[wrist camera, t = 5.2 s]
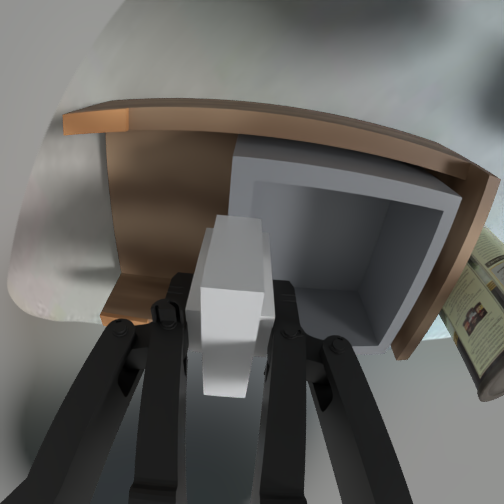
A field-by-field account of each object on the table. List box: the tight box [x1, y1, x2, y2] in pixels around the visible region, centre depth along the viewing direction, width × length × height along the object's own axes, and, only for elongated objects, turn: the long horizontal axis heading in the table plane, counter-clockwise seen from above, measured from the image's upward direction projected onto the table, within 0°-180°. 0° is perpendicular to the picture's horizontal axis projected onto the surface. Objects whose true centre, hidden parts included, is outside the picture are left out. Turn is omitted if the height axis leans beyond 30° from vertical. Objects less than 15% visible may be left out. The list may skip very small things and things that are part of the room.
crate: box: [201, 134, 462, 398], centre depth 16 cm, size 13×12×12 cm
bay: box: [63, 98, 501, 360], centre depth 19 cm, size 16×25×8 cm, turn 84°
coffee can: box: [439, 225, 504, 402], centre depth 19 cm, size 10×10×14 cm
